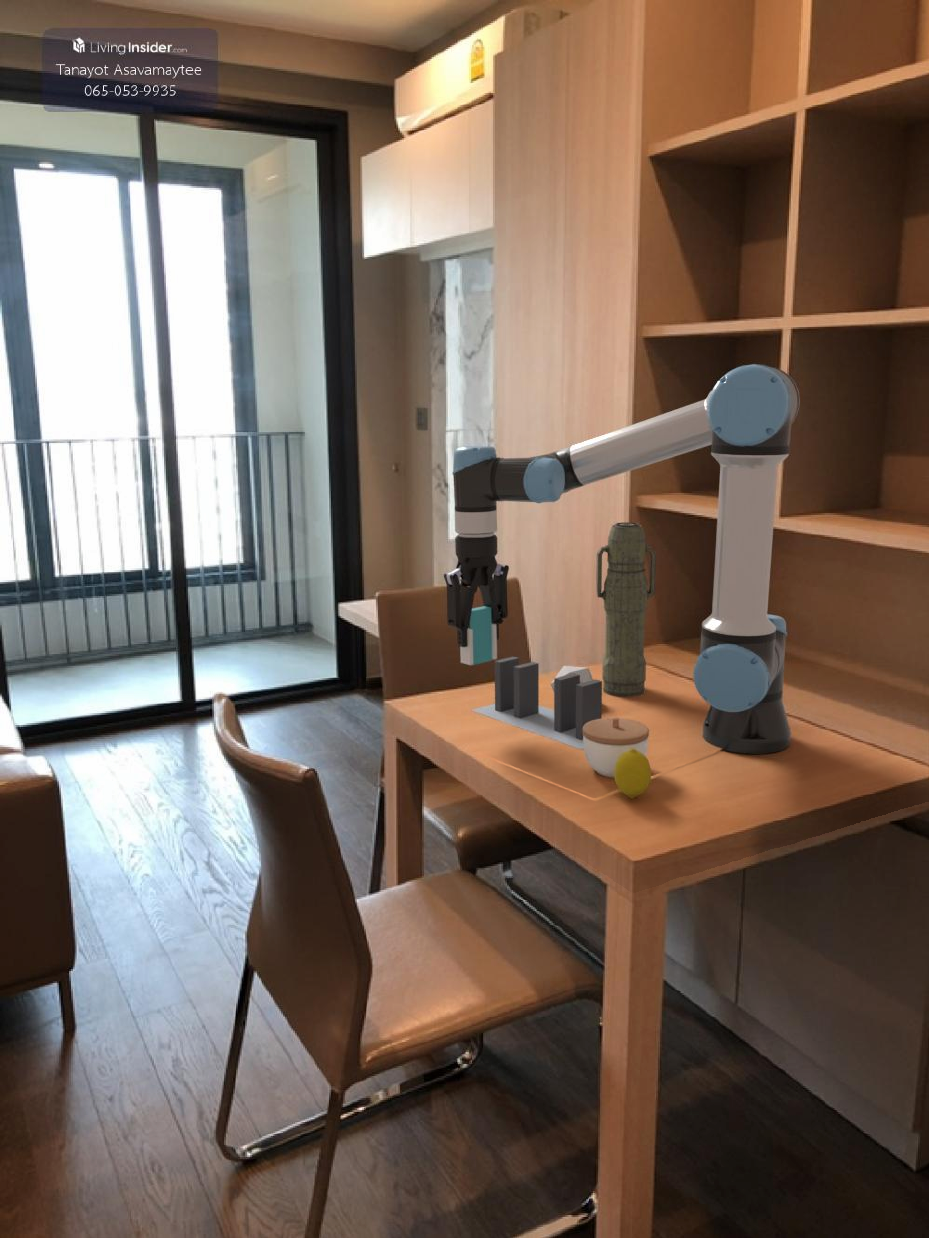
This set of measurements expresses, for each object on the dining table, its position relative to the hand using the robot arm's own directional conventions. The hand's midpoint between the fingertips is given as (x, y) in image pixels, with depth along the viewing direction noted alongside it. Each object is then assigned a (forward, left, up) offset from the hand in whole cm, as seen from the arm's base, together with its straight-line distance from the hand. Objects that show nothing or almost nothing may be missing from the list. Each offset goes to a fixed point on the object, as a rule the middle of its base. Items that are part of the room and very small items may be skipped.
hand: (478, 660), depth 184 cm
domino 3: (-11, -12, -13) cm, 21 cm away
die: (-1, -24, -14) cm, 28 cm away
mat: (-5, -12, -14) cm, 19 cm away
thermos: (-1, -39, -14) cm, 41 cm away
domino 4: (-16, -12, -13) cm, 24 cm away
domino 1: (+6, -12, -13) cm, 19 cm away
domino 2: (0, -12, -13) cm, 18 cm away
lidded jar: (-31, -3, -14) cm, 34 cm away
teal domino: (0, 0, 0) cm, 0 cm away
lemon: (-40, +3, -14) cm, 42 cm away
